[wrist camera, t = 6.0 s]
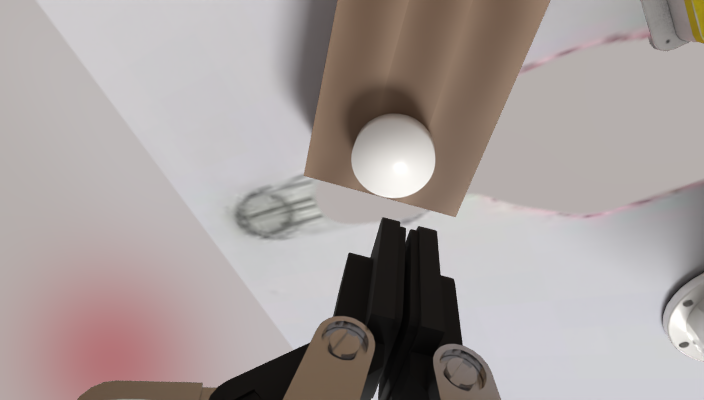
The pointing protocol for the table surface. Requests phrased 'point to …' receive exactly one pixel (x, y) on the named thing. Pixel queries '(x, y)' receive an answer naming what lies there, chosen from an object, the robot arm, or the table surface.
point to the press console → (420, 83)
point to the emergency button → (674, 22)
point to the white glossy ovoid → (393, 156)
